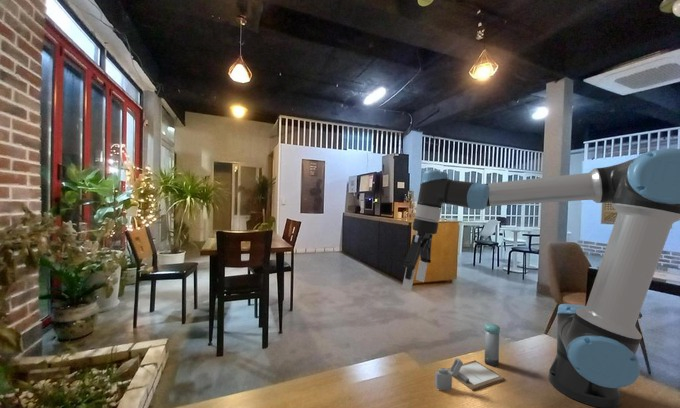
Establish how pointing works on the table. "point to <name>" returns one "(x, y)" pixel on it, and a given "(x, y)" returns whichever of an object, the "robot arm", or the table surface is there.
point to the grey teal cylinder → (492, 344)
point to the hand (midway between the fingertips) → (413, 284)
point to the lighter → (447, 376)
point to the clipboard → (476, 375)
